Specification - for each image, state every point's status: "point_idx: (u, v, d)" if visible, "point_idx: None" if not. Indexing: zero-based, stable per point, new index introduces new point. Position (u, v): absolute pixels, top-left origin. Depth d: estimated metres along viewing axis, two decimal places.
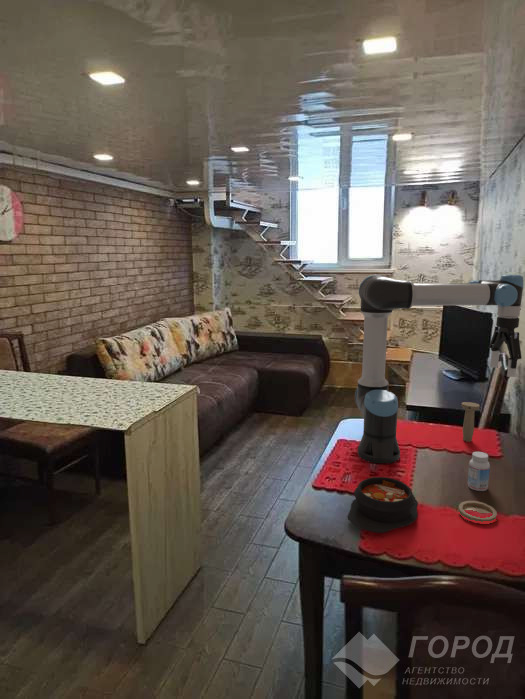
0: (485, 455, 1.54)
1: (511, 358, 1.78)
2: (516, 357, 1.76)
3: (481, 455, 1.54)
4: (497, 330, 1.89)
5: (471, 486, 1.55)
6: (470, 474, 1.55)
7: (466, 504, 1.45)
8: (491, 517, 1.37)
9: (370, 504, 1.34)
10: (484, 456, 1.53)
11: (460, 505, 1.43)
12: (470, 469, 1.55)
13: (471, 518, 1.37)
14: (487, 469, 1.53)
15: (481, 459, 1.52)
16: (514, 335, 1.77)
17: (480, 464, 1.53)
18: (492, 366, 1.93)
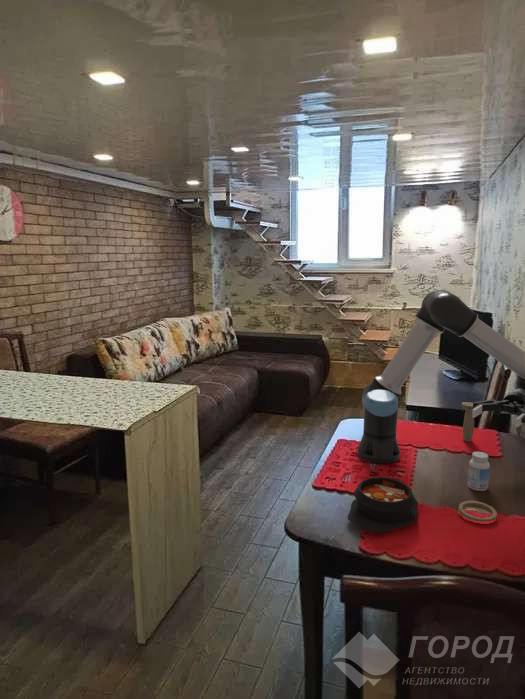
0: (485, 455, 1.54)
1: None
2: None
3: (481, 455, 1.54)
4: (494, 401, 1.73)
5: (471, 486, 1.55)
6: (470, 474, 1.55)
7: (466, 504, 1.45)
8: (491, 517, 1.37)
9: (370, 504, 1.34)
10: (484, 456, 1.53)
11: (460, 505, 1.43)
12: (470, 469, 1.55)
13: (471, 518, 1.37)
14: (487, 469, 1.53)
15: (481, 459, 1.52)
16: None
17: (480, 464, 1.53)
18: (475, 411, 1.64)
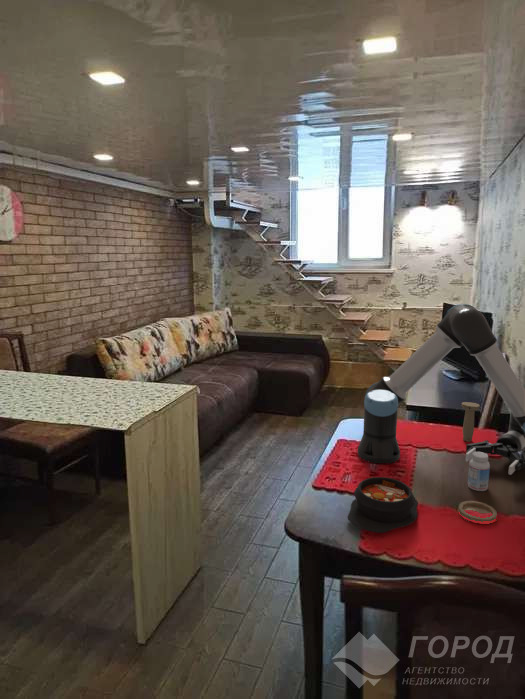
0: (485, 455, 1.54)
1: (522, 460, 1.58)
2: None
3: (481, 455, 1.54)
4: None
5: (471, 486, 1.55)
6: (470, 474, 1.55)
7: (466, 504, 1.45)
8: (491, 517, 1.37)
9: (370, 504, 1.34)
10: (484, 456, 1.53)
11: (460, 505, 1.43)
12: (470, 469, 1.55)
13: (471, 518, 1.37)
14: (487, 469, 1.53)
15: (481, 459, 1.52)
16: None
17: (480, 464, 1.53)
18: (468, 455, 1.63)
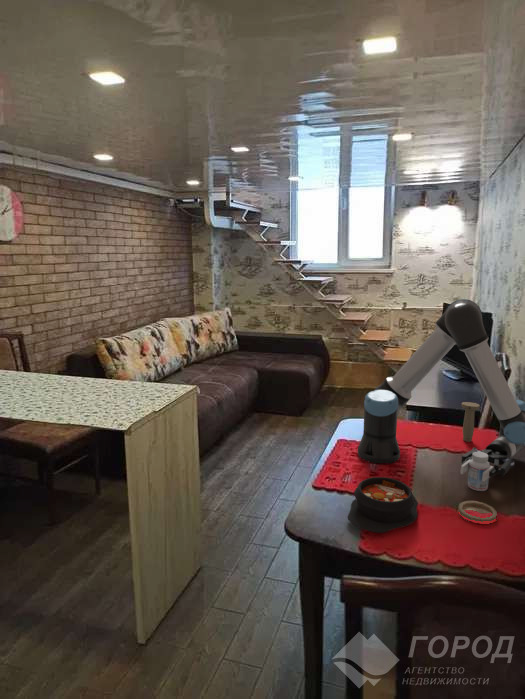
0: (485, 455, 1.54)
1: (497, 467, 1.53)
2: None
3: (481, 455, 1.54)
4: None
5: (471, 486, 1.55)
6: (470, 474, 1.55)
7: (466, 504, 1.45)
8: (491, 517, 1.37)
9: (370, 504, 1.34)
10: (484, 456, 1.53)
11: (460, 505, 1.43)
12: (470, 469, 1.55)
13: (471, 518, 1.37)
14: None
15: (481, 459, 1.52)
16: (513, 462, 1.58)
17: (480, 464, 1.53)
18: (463, 467, 1.54)
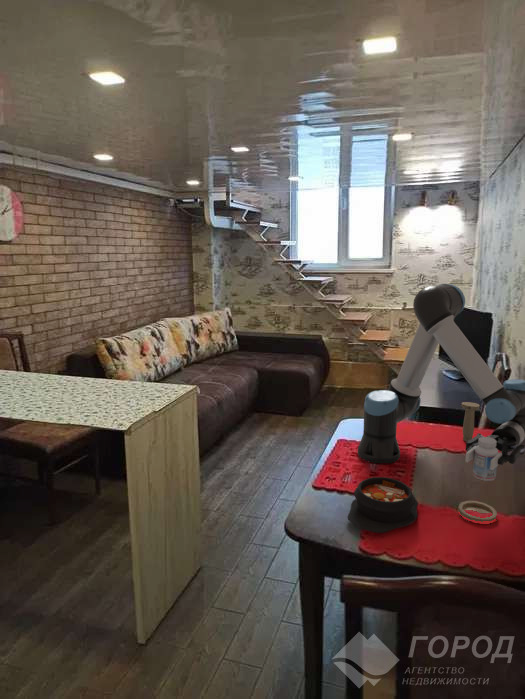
0: (493, 440, 1.37)
1: (506, 453, 1.36)
2: None
3: (488, 440, 1.37)
4: None
5: (477, 475, 1.38)
6: (476, 462, 1.38)
7: (466, 504, 1.45)
8: (491, 517, 1.37)
9: (370, 504, 1.34)
10: (492, 441, 1.36)
11: (460, 505, 1.43)
12: (476, 456, 1.38)
13: (471, 518, 1.37)
14: None
15: (489, 445, 1.36)
16: (523, 448, 1.42)
17: (487, 450, 1.36)
18: (469, 454, 1.37)
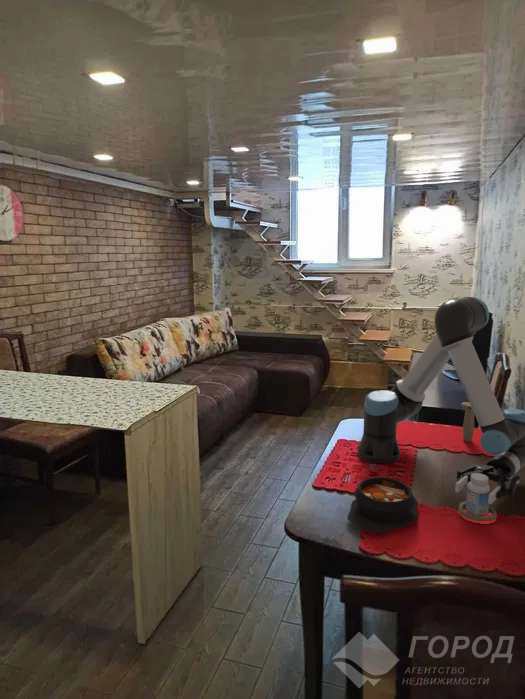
0: (485, 477, 1.38)
1: (505, 487, 1.37)
2: (512, 491, 1.36)
3: (480, 477, 1.39)
4: None
5: (469, 512, 1.40)
6: (468, 498, 1.40)
7: None
8: (491, 517, 1.37)
9: (370, 504, 1.34)
10: (484, 479, 1.38)
11: (460, 505, 1.43)
12: (468, 493, 1.40)
13: (471, 518, 1.37)
14: (487, 493, 1.37)
15: (481, 482, 1.37)
16: (518, 480, 1.42)
17: (479, 487, 1.37)
18: (459, 485, 1.39)
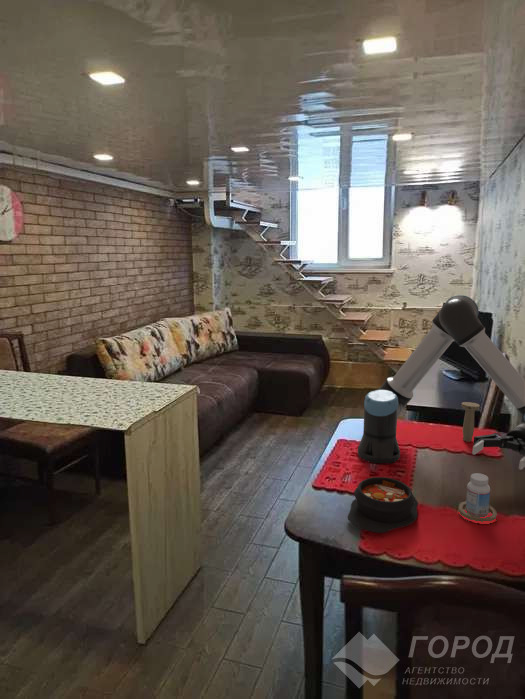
0: (485, 477, 1.38)
1: None
2: None
3: (480, 477, 1.38)
4: (497, 436, 1.61)
5: (469, 512, 1.40)
6: (468, 498, 1.40)
7: None
8: (491, 517, 1.37)
9: (370, 504, 1.34)
10: (484, 479, 1.38)
11: (460, 505, 1.43)
12: (468, 493, 1.39)
13: (471, 518, 1.37)
14: (487, 493, 1.37)
15: (481, 483, 1.37)
16: None
17: (479, 488, 1.37)
18: (476, 447, 1.52)
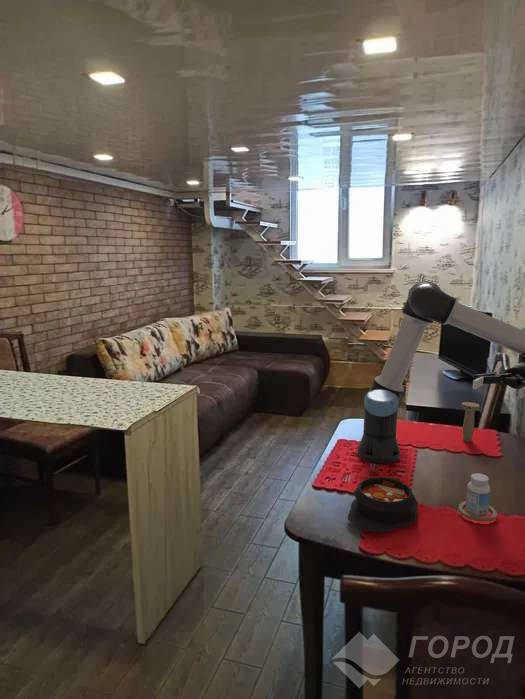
0: (485, 478, 1.38)
1: None
2: None
3: (481, 477, 1.38)
4: None
5: (470, 512, 1.40)
6: (468, 499, 1.40)
7: None
8: (491, 517, 1.37)
9: (370, 504, 1.34)
10: (484, 479, 1.37)
11: (460, 505, 1.43)
12: (468, 493, 1.39)
13: (471, 518, 1.37)
14: (487, 493, 1.37)
15: (481, 483, 1.37)
16: None
17: (479, 488, 1.37)
18: (476, 382, 1.56)
